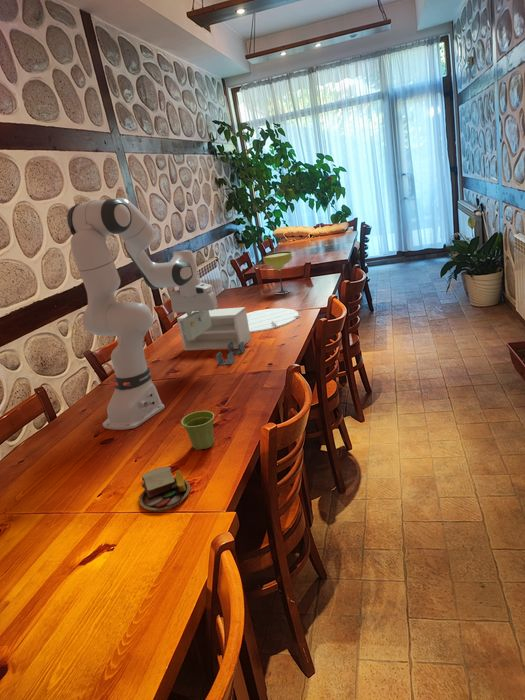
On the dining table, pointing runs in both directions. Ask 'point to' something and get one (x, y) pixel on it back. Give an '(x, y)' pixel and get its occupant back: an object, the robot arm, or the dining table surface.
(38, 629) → the dining table surface
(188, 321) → the pale blue panel
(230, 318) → the cabinet
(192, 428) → the plant pot
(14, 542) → the dining table surface
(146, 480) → the toy sandwich meal
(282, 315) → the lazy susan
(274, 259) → the cocktail glass
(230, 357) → the hinge clips
